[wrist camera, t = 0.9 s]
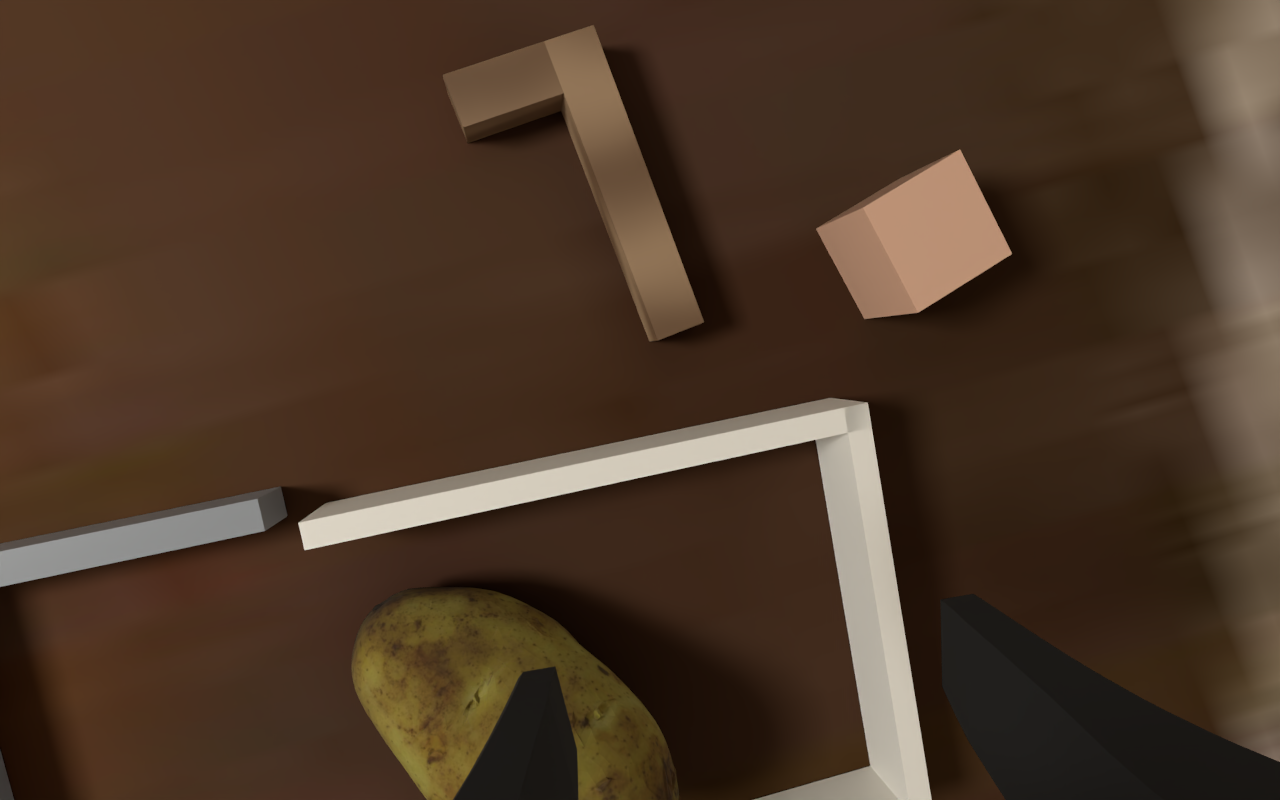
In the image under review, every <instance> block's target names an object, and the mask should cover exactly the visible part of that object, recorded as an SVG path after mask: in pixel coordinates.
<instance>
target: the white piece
mask: <svg viewBox="0 0 1280 800" xmlns="http://www.w3.org/2000/svg"><path fill="white" fill-rule="evenodd" d="M812 440H816V445H817V451H818V457H819V463H820V469H821V475H822V481H823V487H824V493H825V499H826V504H827V510H828V516H829V522H830V528H831V534H832V540H833V546H834V552H835V558H836V564H837V570H838V576H839V582H840V588H841V594H842V600H843V606H844V612H845V618H846V624H847V630H848V636H849V642H850V647H851V653H852V659H853V665H854V671H855V677H856V683H857V689H858V695H859V701H860V707H861V713H862V719H863V725H864V731H865V737H866V743H867V749H868V755H869V761H870V766H869V767H865V768H862V769H858V770H855V771H851V772H848V773H844V774H841V775H837V776H834V777H830V778H827V779H823V780H820V781H817V782H813V783H810V784H806V785H803V786H799V787H796V788H792V789H789V790H785V791H782V792H778V793H775V794H771V795H768V796H764V797H761V798H757V799H754V800H932V799H931V793H930V787H929V780H928V774H927V768H926V762H925V755H924V749H923V743H922V737H921V731H920V724H919V718H918V712H917V706H916V699H915V693H914V687H913V681H912V675H911V668H910V662H909V656H908V650H907V643H906V637H905V631H904V625H903V619H902V612H901V606H900V600H899V594H898V587H897V581H896V575H895V569H894V563H893V556H892V550H891V544H890V538H889V532H888V525H887V519H886V513H885V507H884V500H883V494H882V488H881V482H880V476H879V469H878V463H877V457H876V451H875V444H874V438H873V432H872V426H871V420H870V413H869V407H868V403H867V402H859V401H851V400H844V399H836V398H827V399H823V400H818V401H813V402H808V403H803V404H799V405H794V406H789V407H784V408H779V409H775V410H770V411H765V412H760V413H755V414H751V415H746V416H741V417H736V418H731V419H727V420H722V421H717V422H712V423H707V424H703V425H698V426H693V427H688V428H683V429H679V430H674V431H669V432H664V433H659V434H655V435H650V436H645V437H640V438H635V439H631V440H626V441H621V442H616V443H611V444H607V445H602V446H597V447H592V448H587V449H583V450H578V451H573V452H568V453H563V454H559V455H554V456H549V457H544V458H539V459H535V460H530V461H525V462H520V463H515V464H511V465H506V466H501V467H496V468H491V469H487V470H482V471H477V472H472V473H467V474H463V475H458V476H453V477H448V478H443V479H439V480H434V481H429V482H424V483H419V484H415V485H410V486H405V487H400V488H395V489H391V490H386V491H381V492H376V493H371V494H367V495H362V496H357V497H352V498H347V499H343V500H338V501H333V502H328V503H325V504H324V505H322V506H321V507H320V508H318V509H317V510H315V511H314V512H313V513H311V514H310V515H308V516H307V517H306V518H304V519H303V520H301V521H300V522H299V523H298V524H299V528H300V533H301V537H302V541H303V545H304V550H308V549H313V548H317V547H322V546H327V545H331V544H336V543H341V542H345V541H350V540H354V539H359V538H364V537H368V536H373V535H378V534H382V533H387V532H391V531H396V530H401V529H405V528H410V527H415V526H419V525H424V524H428V523H433V522H438V521H442V520H447V519H451V518H456V517H461V516H465V515H470V514H475V513H479V512H484V511H488V510H493V509H498V508H502V507H507V506H512V505H516V504H521V503H525V502H530V501H535V500H539V499H544V498H549V497H553V496H558V495H562V494H567V493H572V492H576V491H581V490H585V489H590V488H595V487H599V486H604V485H609V484H613V483H618V482H622V481H627V480H632V479H636V478H641V477H646V476H650V475H655V474H659V473H664V472H669V471H673V470H678V469H683V468H687V467H692V466H696V465H701V464H706V463H710V462H715V461H720V460H724V459H729V458H733V457H738V456H743V455H747V454H752V453H756V452H761V451H766V450H770V449H775V448H780V447H784V446H789V445H793V444H798V443H803V442H807V441H812Z"/></svg>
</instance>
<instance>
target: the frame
mask: <svg viewBox="0 0 1280 800" xmlns="http://www.w3.org/2000/svg"><path fill="white" fill-rule="evenodd" d="M287 516H288V515H287V511H286V507H285V502H284V498H283V494H282V490H281V487H277V488H272V489H267V490H262V491H257V492H252V493H247V494H242V495H237V496H232V497H227V498H222V499H218V500H213V501H208V502H203V503H198V504H193V505H188V506H183V507H178V508H173V509H168V510H163V511H159V512H154V513H149V514H144V515H139V516H134V517H129V518H124V519H119V520H114V521H109V522H105V523H100V524H95V525H90V526H85V527H80V528H75V529H70V530H65V531H60V532H55V533H50V534H46V535H41V536H36V537H31V538H26V539H21V540H16V541H11V542H6V543H1V544H0V587H2V586H7V585H12V584H16V583H21V582H26V581H31V580H35V579H40V578H45V577H50V576H54V575H59V574H64V573H69V572H73V571H78V570H83V569H87V568H92V567H97V566H102V565H106V564H111V563H116V562H121V561H125V560H130V559H135V558H140V557H144V556H149V555H154V554H158V553H163V552H168V551H173V550H177V549H182V548H187V547H192V546H196V545H201V544H206V543H211V542H215V541H220V540H225V539H230V538H234V537H239V536H244V535H248V534H253V533H258V532H263V531H266V530H267V529H269V528H270V527H272V526H273V525H275V524H276V523H278V522H279V521H281V520H282V519H284V518H286V517H287ZM0 800H14V798H13V794H12V790H11V787H10V783H9V779H8V776H7V772H6V769H5V765H4V761H3V758H2V754H1V751H0Z"/></svg>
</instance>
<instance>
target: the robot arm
mask: <svg viewBox="0 0 1280 800" xmlns="http://www.w3.org/2000/svg"><path fill="white" fill-rule="evenodd" d="M941 647H942V687H943V689H944V691H945V694H946V696H947V698H948V700H949V702H950V704H951V706H952V709H953V711H954V713H955V715H956V717H957V719H958V721H959V723H960V725H961V727H962V729H963V731H964V733H965V735H966V737H967V739H968V741H969V742H970V744H971V746H972V747H973V749H974V750H975V752H976V754H977V755H978V757H979V758H980V760H981V762H982V763H983V765H984V766H985V768H986V770H987V771H988V773H989V774H990V776H991V777H992V779H993V781H994V782H995V784H996V785H997V787H998V788H999V790H1000V792H1001V793H1002V795H1003V796H1004V798H1005V799H1006V800H1280V762H1278V761H1276V760H1273V759H1271V758H1269V757H1266V756H1264V755H1261V754H1259V753H1256V752H1254V751H1252V750H1249V749H1247V748H1244V747H1242V746H1240V745H1237V744H1235V743H1233V742H1231V741H1228V740H1226V739H1224V738H1222V737H1219V736H1217V735H1215V734H1213V733H1211V732H1208V731H1206V730H1204V729H1202V728H1200V727H1198V726H1196V725H1194V724H1192V723H1190V722H1188V721H1186V720H1184V719H1182V718H1180V717H1177V716H1175V715H1173V714H1171V713H1169V712H1167V711H1165V710H1163V709H1161V708H1159V707H1157V706H1156V705H1154V704H1152V703H1150V702H1148V701H1146V700H1144V699H1142V698H1140V697H1139V696H1137V695H1135V694H1133V693H1131V692H1130V691H1128V690H1126V689H1124V688H1123V687H1121V686H1119V685H1117V684H1115V683H1114V682H1112V681H1110V680H1108V679H1106V678H1105V677H1103V676H1101V675H1100V674H1098V673H1096V672H1095V671H1093V670H1091V669H1089V668H1088V667H1086V666H1084V665H1083V664H1081V663H1080V662H1078V661H1076V660H1075V659H1073V658H1071V657H1070V656H1068V655H1067V654H1065V653H1063V652H1062V651H1060V650H1059V649H1057V648H1055V647H1054V646H1052V645H1051V644H1049V643H1048V642H1046V641H1044V640H1043V639H1041V638H1040V637H1038V636H1037V635H1035V634H1034V633H1032V632H1031V631H1029V630H1028V629H1026V628H1025V627H1023V626H1021V625H1020V624H1018V623H1017V622H1015V621H1014V620H1012V619H1011V618H1009V617H1008V616H1006V615H1005V614H1003V613H1002V612H1000V611H999V610H997V609H996V608H994V607H993V606H991V605H990V604H988V603H987V602H985V601H984V600H982V599H981V598H979V597H977V596H976V595H974V594H970V595H964V596H959V597H953V598H947V599H941ZM453 800H578V761H577V747H576V743H575V740H574V736H573V732H572V728H571V724H570V720H569V717H568V713H567V709H566V705H565V701H564V697H563V694H562V690H561V686H560V682H559V678H558V674H557V671H556V667H555V666H554V667H548V668H543V669H537V670H531V671H525V672H523V673H522V674H521V675H520V676H519V678H518V680H517V682H516V684H515V686H514V689H513V691H512V693H511V695H510V697H509V699H508V701H507V703H506V705H505V707H504V709H503V711H502V713H501V715H500V717H499V719H498V721H497V723H496V725H495V727H494V729H493V731H492V733H491V735H490V737H489V739H488V740H487V742H486V744H485V746H484V748H483V749H482V751H481V753H480V755H479V757H478V759H477V760H476V762H475V764H474V766H473V768H472V769H471V771H470V773H469V774H468V776H467V778H466V779H465V781H464V783H463V784H462V786H461V787H460V789H459V791H458V792H457V794H456V796H455V797H454V799H453Z"/></svg>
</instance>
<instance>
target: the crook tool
mask: <svg viewBox="0 0 1280 800" xmlns="http://www.w3.org/2000/svg"><path fill="white" fill-rule="evenodd" d="M443 79H444V82H445V85H446V89H447V92H448V95H449V98H450V100H451V103H452V105H453V108H454V110H455V113H456V115H457V118H458V120H459V123H460V125H461V128H462V130H463V133H464V135H465V138H466V140H467V143H470V142H473V141H476V140H479V139H482V138H485V137H487V136H490V135H493V134H496V133H499V132H502V131H505V130H508V129H511V128H513V127H516V126H519V125H522V124H525V123H528V122H531V121H534V120H537V119H540V118H542V117H545V116H548V115H551V114H554V113H557V112H560V111H561V112H562V114H563V117H564V119H565V122H566V125H567V127H568V130H569V133H570V135H571V138H572V140H573V143H574V146H575V148H576V151H577V153H578V156H579V159H580V161H581V164H582V167H583V169H584V172H585V174H586V177H587V180H588V182H589V185H590V187H591V190H592V193H593V195H594V198H595V200H596V203H597V206H598V208H599V211H600V214H601V216H602V219H603V221H604V224H605V227H606V229H607V232H608V234H609V237H610V240H611V242H612V245H613V248H614V250H615V253H616V255H617V258H618V261H619V263H620V266H621V268H622V271H623V274H624V276H625V279H626V281H627V284H628V287H629V289H630V292H631V295H632V297H633V300H634V302H635V305H636V308H637V310H638V313H639V315H640V318H641V321H642V323H643V326H644V328H645V331H646V334H647V336H648V339H649V342H650V341H657V340H660V339H663V338H665V337H668V336H671V335H673V334H676V333H678V332H681V331H683V330H686V329H688V328H691V327H693V326H696V325H698V324H701V323H703V322H704V320H703V318H702V315H701V312H700V310H699V307H698V304H697V302H696V299H695V296H694V293H693V291H692V288H691V285H690V283H689V280H688V277H687V275H686V272H685V269H684V267H683V264H682V261H681V259H680V256H679V253H678V251H677V248H676V245H675V242H674V240H673V237H672V234H671V232H670V229H669V226H668V224H667V221H666V218H665V216H664V213H663V210H662V208H661V205H660V202H659V200H658V197H657V194H656V191H655V189H654V186H653V183H652V181H651V178H650V175H649V173H648V170H647V167H646V165H645V162H644V159H643V157H642V154H641V151H640V149H639V146H638V143H637V140H636V138H635V135H634V132H633V130H632V127H631V124H630V122H629V119H628V116H627V114H626V111H625V108H624V106H623V103H622V100H621V98H620V95H619V92H618V89H617V87H616V84H615V81H614V79H613V76H612V73H611V71H610V68H609V65H608V63H607V60H606V57H605V55H604V52H603V49H602V47H601V44H600V41H599V38H598V36H597V33H596V30H595V28H594V25H592V26H589V27H586V28H583V29H580V30H577V31H574V32H571V33H568V34H565V35H562V36H559V37H556V38H553V39H550V40H547V41H544V42H541V43H538V44H535V45H532V46H528V47H525V48H522V49H519V50H516V51H513V52H510V53H507V54H504V55H501V56H498V57H495V58H492V59H489V60H486V61H483V62H480V63H477V64H474V65H471V66H468V67H465V68H462V69H459V70H456V71H453V72H450V73H447V74H444V75H443Z"/></svg>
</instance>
